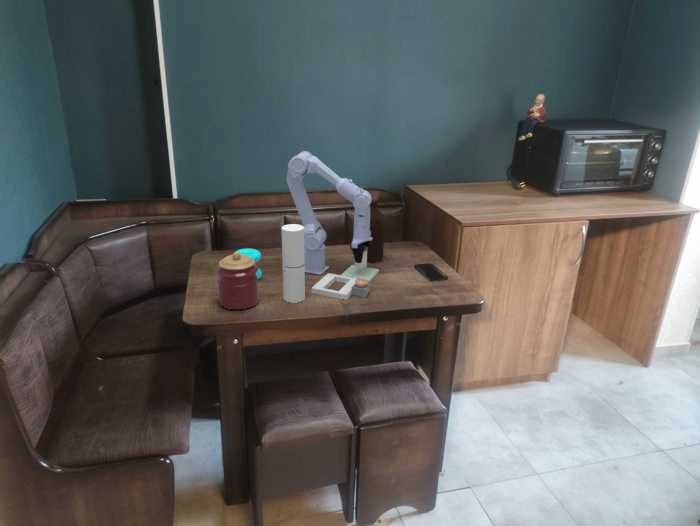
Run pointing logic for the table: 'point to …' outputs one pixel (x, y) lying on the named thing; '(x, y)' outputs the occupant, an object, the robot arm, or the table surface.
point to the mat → (361, 273)
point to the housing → (344, 292)
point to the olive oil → (376, 233)
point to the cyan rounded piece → (253, 254)
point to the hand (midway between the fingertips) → (360, 260)
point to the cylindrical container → (293, 263)
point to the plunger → (361, 283)
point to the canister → (238, 281)
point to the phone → (430, 272)
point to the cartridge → (363, 259)
